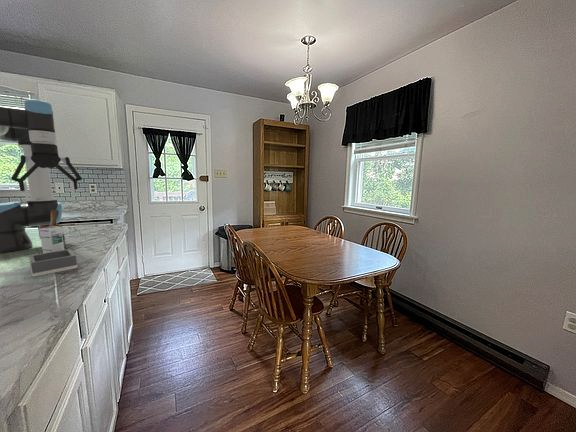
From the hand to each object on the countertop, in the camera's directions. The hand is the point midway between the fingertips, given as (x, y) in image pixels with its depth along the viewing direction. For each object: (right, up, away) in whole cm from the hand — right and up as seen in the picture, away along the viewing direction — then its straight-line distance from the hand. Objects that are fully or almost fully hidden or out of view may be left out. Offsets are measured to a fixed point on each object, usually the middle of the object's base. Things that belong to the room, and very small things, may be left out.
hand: (51, 198), depth 102 cm
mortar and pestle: (-21, -24, +24) cm, 40 cm away
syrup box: (-9, -26, +12) cm, 30 cm away
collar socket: (0, -28, +1) cm, 28 cm away
